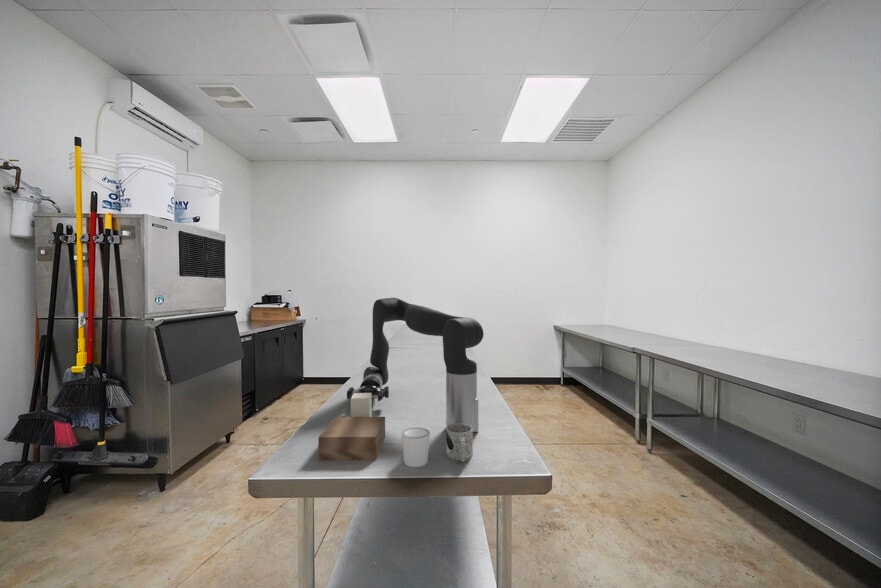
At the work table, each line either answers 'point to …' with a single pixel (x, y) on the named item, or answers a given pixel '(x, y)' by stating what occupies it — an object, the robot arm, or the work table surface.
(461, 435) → the mug
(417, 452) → the shot glass
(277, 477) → the work table surface
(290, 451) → the work table surface
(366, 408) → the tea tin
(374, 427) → the walnut block
